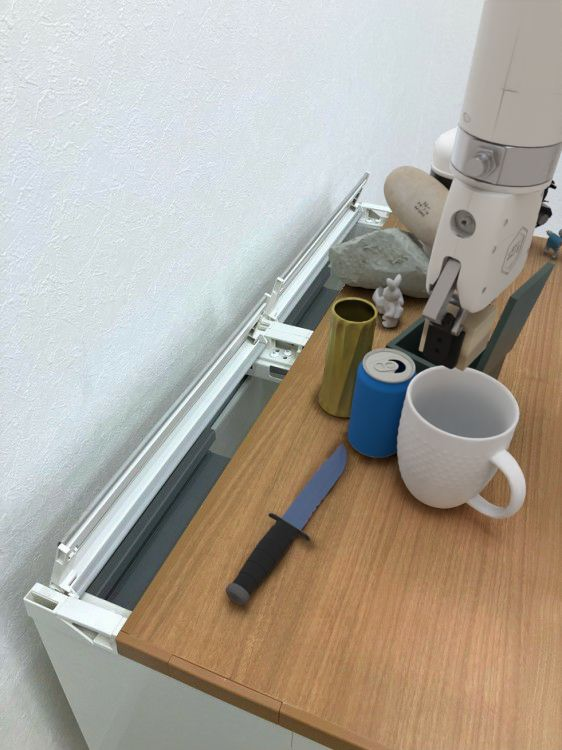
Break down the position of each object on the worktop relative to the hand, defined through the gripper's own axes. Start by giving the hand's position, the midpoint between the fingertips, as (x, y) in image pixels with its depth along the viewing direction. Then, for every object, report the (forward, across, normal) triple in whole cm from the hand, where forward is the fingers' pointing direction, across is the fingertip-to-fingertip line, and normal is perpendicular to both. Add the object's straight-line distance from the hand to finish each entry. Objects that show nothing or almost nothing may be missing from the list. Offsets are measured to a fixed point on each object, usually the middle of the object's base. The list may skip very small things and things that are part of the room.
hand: (453, 346), depth 58 cm
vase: (+19, +5, +14) cm, 24 cm away
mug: (+19, 0, -3) cm, 19 cm away
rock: (+16, +27, +22) cm, 38 cm away
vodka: (+19, +42, +22) cm, 51 cm away
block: (0, 0, 0) cm, 0 cm away
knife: (+19, -13, +7) cm, 24 cm away
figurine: (+19, +25, +20) cm, 37 cm away
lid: (+5, +14, 0) cm, 15 cm away
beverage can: (+19, +2, +7) cm, 20 cm away
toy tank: (+16, +56, +18) cm, 61 cm away
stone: (+1, +38, +26) cm, 46 cm away
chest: (+19, +14, +6) cm, 24 cm away
